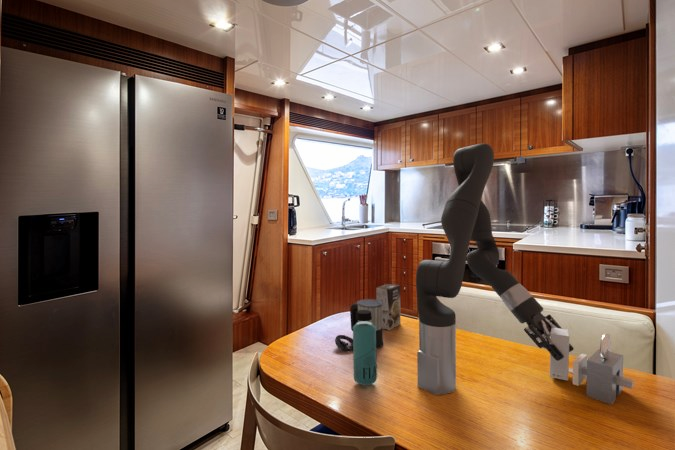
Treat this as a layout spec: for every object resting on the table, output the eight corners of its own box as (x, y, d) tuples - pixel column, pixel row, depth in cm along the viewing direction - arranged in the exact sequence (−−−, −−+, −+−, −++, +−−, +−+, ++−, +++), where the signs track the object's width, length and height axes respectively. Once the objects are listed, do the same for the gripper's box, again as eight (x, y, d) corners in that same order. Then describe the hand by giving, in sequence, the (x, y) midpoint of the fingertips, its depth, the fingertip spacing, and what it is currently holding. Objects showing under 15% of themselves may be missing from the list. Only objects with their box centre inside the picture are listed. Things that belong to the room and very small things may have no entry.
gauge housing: (611, 404, 81) (613, 342, 80) (542, 380, 92) (542, 325, 92) (625, 385, 89) (626, 328, 88) (560, 365, 101) (560, 315, 100)
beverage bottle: (361, 393, 88) (360, 316, 87) (348, 382, 94) (347, 309, 93) (382, 386, 91) (381, 312, 90) (368, 376, 97) (367, 306, 96)
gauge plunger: (628, 404, 79) (629, 377, 79) (572, 385, 88) (572, 361, 88) (639, 387, 87) (640, 362, 86) (586, 372, 95) (586, 349, 95)
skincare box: (568, 381, 90) (569, 336, 89) (549, 377, 92) (550, 333, 92) (568, 371, 95) (568, 329, 95) (549, 368, 97) (550, 326, 97)
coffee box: (390, 330, 132) (390, 289, 131) (376, 327, 136) (375, 287, 135) (401, 324, 139) (400, 284, 139) (387, 321, 143) (386, 283, 143)
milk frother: (388, 342, 121) (387, 300, 120) (367, 359, 108) (366, 312, 107) (353, 335, 129) (352, 295, 128) (330, 350, 115) (329, 306, 115)
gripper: (519, 300, 94) (568, 356, 85) (540, 291, 103) (586, 341, 95) (500, 315, 98) (544, 369, 90) (522, 305, 107) (564, 353, 99)
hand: (565, 354), depth 92 cm, fingers closed on skincare box, 7 cm apart
